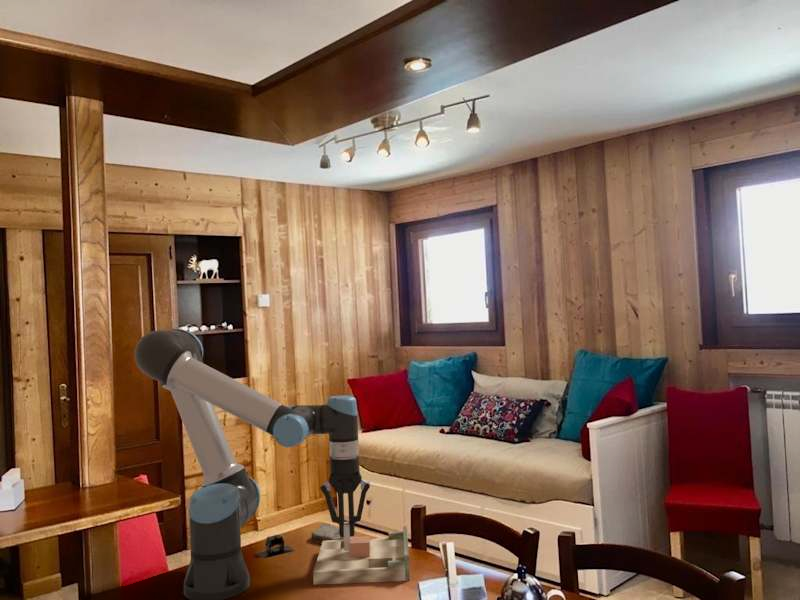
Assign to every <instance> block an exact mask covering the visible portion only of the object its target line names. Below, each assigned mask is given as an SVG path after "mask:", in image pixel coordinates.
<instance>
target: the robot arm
mask: <svg viewBox="0 0 800 600" xmlns="http://www.w3.org/2000/svg"><path fill="white" fill-rule="evenodd" d="M203 357H204V347H203V344H202V342H201V340H200V339H199V338H198V337H197V336H196V335H195V334H194V333H193V332H192V331H191V332H190V331H188V330H185V329H183V328H182V329H181V328H172V329H163V330H162V329H161V330H152V331H150V332H148V333H146V334H145V335H143V336H142V337H140V339H139V340H138V342H137V343H136V346H135V348H134V361H135V364H136V366H137V367H138V369H139V370H140V371H141V372H142V373H143V374H145V376H146V377H147V376H148V377H150V378H151V379H153V380H155V381H158V382H159V383H160V384H161V387H162V388H163V389H165V390H167V391H169V392H170V393H171V396H172V398H173V401H174V403H175V406H176V408H177V411H178V413H179V416H180V418H181V421H182V424H183V426H184V429H185V432H186V434H187V436H188V439H189V441H190V444H191V446H192V449H193V451H194V455H195V456H196V459H197V462H198V463H199V467H200V470H201V472H202V474H203V479H202V482H201V485H200V486H201V487H199V488H198V489H197V490H195V491H193V493H192V494H191V495H190V498H189V506H188V517H189V518H188V519H189V520H188V521H189V542H190V543H189V545H190V560H189V564H188V568H187V571H186V574H185V578H184V581H183V595H184V597H185V598H186V599H188V600H227V599H231V598H234V597H236V596H239V595H240V594H243V593H244V592H245V591H247V590H248V588H249V587H250V585H251V584H250V582H251V581H250V573H249V571H248V567H247V564H246V561H245V560H244V556H243V554H242V540H241V539H242V538H241V537H242V535H241V529H242V527H243V526H244V525H245V524H246V523H247V522H249V521H250V520H251V519H252V518H253V517H254V515H255V514H256V512H257V510H258V508H259V506H260V503H261V490H260V487H259V485H258V483H257V482H256V481H255V479H253V477H250V476H249V475H248V473H247V470H246V467H245V466H244V465H243V464H240V463H238V462H237V461H236V459H235V457H234V454H233V451H232V449H231V447H230V444H229V441H228V438H227V436H226V434H225V431H224V428H223V426H222V424H221V421H220V418H219V416H218V414H217V412H216V409H215V407H217V408H219V409H221V410H222V411H224V412H226V413H229V414H230V415H233V416H234V417H236V418H238V419H239V420H242V421H244V422H246V423H248V424H250V425H251V426H253V427H255V428H257V429H259V430H261V431H263V432H265V433H267V434H269V435H271V436H272V437H273V438H274V440H275V442H276V443H278V444H279V445H280V446H282V447H284V448H292V447H296V446H298V445H301V444H302V443H304V441H305V440H307V438H308V437H309V436H310V435H328V447H329V448H328V449H329V450H328V452H329V456H330V458H329V470H330V471H329V474H330V475H329V477H328V479H327V481H326V482H324V483H322V484H321V485H320V491H321V492H322V493H323V495H324V497H325V501H326V505H327V508H328V512H329V516H330V520H331V523H333V524H334V523H336V524H338V528H339V533H340V537H344V551H350V539H351V537H355V533H356V532H355V523H357V522H361V520H362V515H363V510H364V505H365V501H366V494H367V492H368V490H369V489H370V487H371V482H370V481H366V480H364V479H362V478H363V477H362V475H361V472H360V457H359V456H358V455H359V452H360V451H359V450H360V449H359V446H360V445H359V418H358V416H359V414H358V405H357V399H356V398H355V397H354V396H352V395H332V396H329V397H327V402H326V403H325V404H310V405H309V404H304V405H301V404H300V405H298V404H294V405H284V404H282V403H281V402H279V401H276V400H275V399H273V398H271V397H269V396H268V395H265V394H263V393H261V392H259V391H257V390H255V389H253V388H252V387H250V386H248V385H245V384H244V383H242V382H240V381H238V380H237V379H234V378H233V377H230V376H229V375H226V374H225V373H222V372H220V371H219V370H217V369H215V368H213V367H210V366H209V365H207V364H205V363H204V362H203ZM359 485H360V489H361V491H360V496H359V497H360V498H359V503H358V507H357V512H356V515H355V504H354V503H355V502H354V501H355V500H354V499H355V498H354V492H356V490H357V488H358V487H359ZM331 487H332V488H333V490H334V491H335V493H337V501H338V502H337V505H338V506H337V507H338V515H337V511H336V507H335V504H334V501H333V500H334V499H333V497H332V493H331V491H330V490H331ZM344 494H347V503H348V521H345V503H344V501H345V499H344V498H345V497H344Z"/></svg>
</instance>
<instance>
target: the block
mask: <svg viewBox="0 0 800 600" xmlns="http://www.w3.org/2000/svg"><path fill="white" fill-rule="evenodd" d="M370 539H371V536H370V535H368V536H367V535H365V536H352V537H351V539H350V557H370Z"/></svg>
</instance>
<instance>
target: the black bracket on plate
mask: <svg viewBox="0 0 800 600" xmlns="http://www.w3.org/2000/svg"><path fill="white" fill-rule="evenodd" d="M295 551H296V550H295V549H294V548H292V546H291V547H290V546H289V545H288V544H287V545H285V540H284V537H283V536H282V535H280V534H274V535H270V536H266V540H265V550H261V551H258V552H255V554H256V555H257V556H259V557H260V558H261V559H267V558H271V557H275V556H279V555H283V554H287V553H292V552H295Z"/></svg>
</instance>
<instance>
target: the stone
mask: <svg viewBox="0 0 800 600" xmlns="http://www.w3.org/2000/svg"><path fill="white" fill-rule="evenodd" d="M312 540H313V541H312ZM327 540H344V537H340V533H339V526H338V527H337V526H336V525H334V524H331V523H328V522H322V524H320V526H318V527H317V528H315V529H314V530H313V531H312V532H311V541H312V542H314V543H317V542H318V543H320V544H319V545H321V544H322V542H323V541H327ZM318 543H317V544H318Z"/></svg>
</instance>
